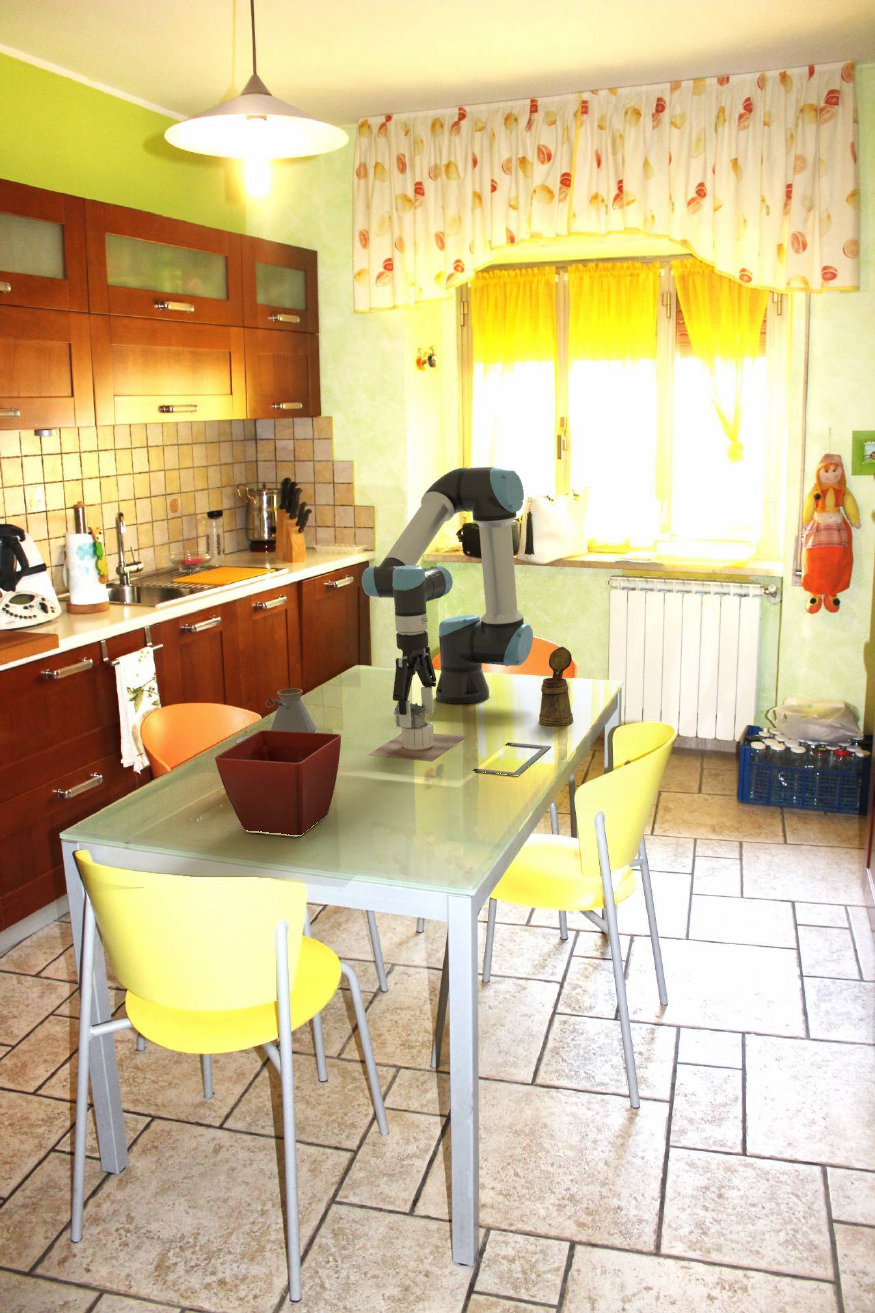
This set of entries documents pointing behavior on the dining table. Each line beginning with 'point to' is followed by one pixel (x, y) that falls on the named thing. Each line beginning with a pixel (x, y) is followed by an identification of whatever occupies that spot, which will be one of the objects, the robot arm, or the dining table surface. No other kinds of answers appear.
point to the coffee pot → (291, 712)
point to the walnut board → (397, 750)
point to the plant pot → (281, 779)
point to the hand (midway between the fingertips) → (416, 720)
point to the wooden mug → (556, 691)
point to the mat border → (525, 765)
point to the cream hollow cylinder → (418, 737)
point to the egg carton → (413, 715)
